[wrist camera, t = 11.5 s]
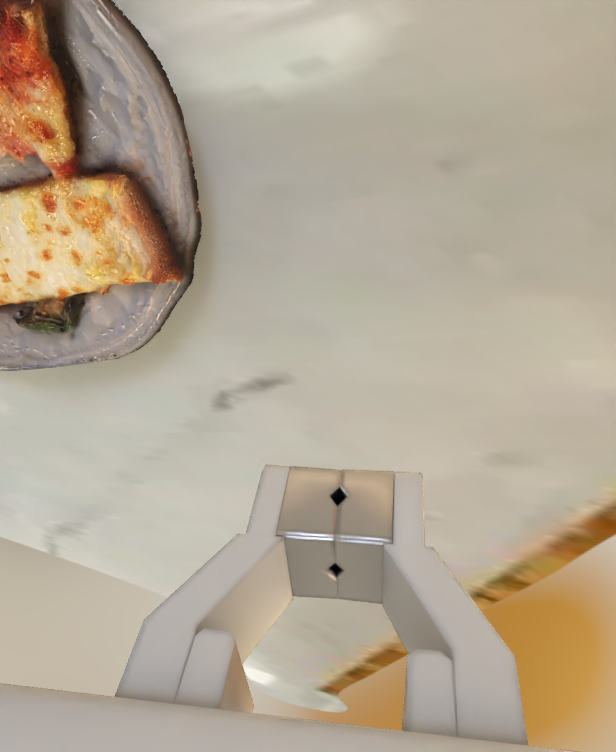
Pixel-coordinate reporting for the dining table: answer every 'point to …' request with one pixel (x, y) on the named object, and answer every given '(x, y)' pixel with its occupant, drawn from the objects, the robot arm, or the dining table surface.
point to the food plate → (88, 186)
